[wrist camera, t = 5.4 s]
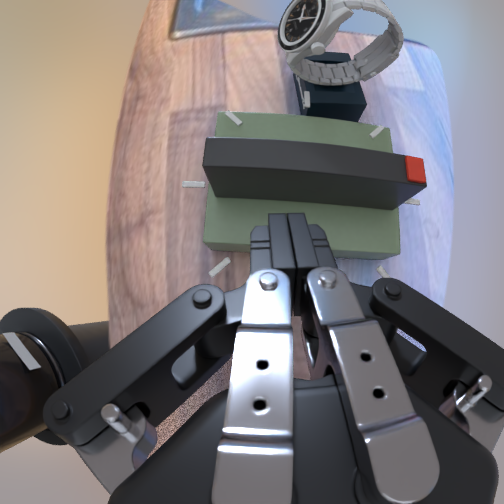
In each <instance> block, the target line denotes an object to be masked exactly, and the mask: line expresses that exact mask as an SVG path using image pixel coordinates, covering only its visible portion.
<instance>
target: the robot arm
mask: <svg viewBox="0 0 504 504" xmlns="http://www.w3.org/2000/svg"><path fill="white" fill-rule="evenodd" d="M292 311H293V314H294V316H301V320H302V326H301V336H302V341H303V345H304V349H305V354H306V358H307V363H308V367H309V372H310V380H304V379H297V378H293V329H292V327H291V317H292ZM398 328H399V329H400V330H402V331H403V332H405V333H406V334H408V335H409V336H410V337H412V338H413V339H415V340H416V341H418V342H419V343H421V344H422V345H423V346H424V347H425V349H426V351H427V352H425V351H422V350H421V349H419V348H418V347H416V346H415V345H414V344H412V343H411V342H409V341H408V340H406V339H405V338H404V337H402V336H401V335H399V334H398V333H396V331H397V329H398ZM232 353H234V355H233V362H232V369H231V376H230V384H229V389H226V390H224V391H222V392H220V393H218V394H216V395H215V396H213V397H211V398H210V399H209V400H208V401H206V402H205V403H204V404H203V405H202V406H201V407H200V408H199V409H198V410H197V411H196V412H195V413H194V414H193V415H192V416H191V417H190V418H189V419H188V420H187V421H186V422H185V423H184V424H183V425H182V426H181V427H180V428H179V429H178V430H177V431H176V432H175V433H174V434H173V435H172V436H171V437H170V438H169V439H168V440H167V441H166V442H165V443H164V444H163V445H162V446H161V447H160V448H159V449H158V450H157V451H156V452H155V453H154V454H152V455H151V456H150V457H149V458H148V459H147V457H148V456H149V454H150V453H151V451H152V450H153V449H154V448H155V446H156V443H157V439H158V435H157V431H156V427H157V426H158V425H159V424H161V423H162V422H163V421H164V420H165V419H166V418H167V417H168V416H169V415H171V414H172V413H173V412H174V411H175V410H176V409H177V408H178V407H179V406H180V405H182V404H183V403H184V402H185V401H186V400H187V399H188V398H189V397H190V396H191V395H192V394H193V393H195V392H196V391H197V390H198V389H199V388H200V387H201V386H202V385H203V384H204V383H205V382H206V381H207V380H208V379H209V378H210V377H211V376H212V375H213V374H215V373H216V372H217V371H218V370H219V369H220V368H221V367H222V366H223V365H224V364H225V363H226V362H227V361H228V360H229V359H230V357H231V356H232ZM503 427H504V349H503V348H501V347H500V346H498V345H497V344H496V343H494V342H493V341H491V340H490V339H489V338H487V337H486V336H484V335H483V334H481V333H480V332H478V331H477V330H475V329H474V328H472V327H471V326H470V325H468V324H467V323H465V322H464V321H462V320H461V319H459V318H457V317H456V316H455V315H453V314H452V313H450V312H449V311H447V310H445V309H444V308H442V307H441V306H439V305H438V304H436V303H435V302H433V301H432V300H430V299H428V298H427V297H425V296H424V295H422V294H421V293H419V292H417V291H416V290H414V289H413V288H411V287H409V286H408V285H406V284H405V283H403V282H401V281H399V280H397V279H394V278H381V279H378V280H377V281H375V283H374V284H373V287H367V286H362V285H357V284H354V283H352V282H349V280H348V277H347V276H346V274H345V273H344V272H342V271H341V270H339V269H338V268H337V265H336V262H335V259H334V256H333V253H332V250H331V247H330V244H329V242H328V240H327V236H326V233H325V231H324V230H323V229H322V228H321V227H320V226H319V225H318V224H308V223H307V219H306V216H305V213H287V214H286V213H268V225H264V226H255V227H254V229H253V230H252V231H251V233H250V276H249V277H248V279H247V282H246V283H245V284H244V285H243V286H241V287H239V288H237V289H235V290H232V291H228V292H224V293H223V291H222V290H221V289H220V288H219V287H217V286H214V285H210V284H201V285H196V286H194V287H192V288H190V289H188V290H187V291H185V292H184V293H183V294H182V295H180V296H179V297H178V298H176V299H175V300H174V301H172V302H171V303H170V304H168V305H167V306H166V307H165V308H163V309H162V310H161V311H159V312H158V313H157V314H155V315H154V316H153V317H151V318H150V319H149V320H148V321H146V322H145V323H144V324H142V325H141V326H140V327H138V328H137V329H136V330H135V331H133V332H132V333H131V334H129V335H128V336H127V337H126V338H124V339H123V340H122V341H120V342H119V343H118V344H116V345H115V346H114V347H113V348H111V349H110V350H109V351H107V352H106V353H105V354H104V355H102V356H101V357H100V358H98V359H97V360H96V361H95V362H93V363H92V364H91V365H89V366H88V367H87V368H86V369H84V370H83V371H82V372H80V373H79V374H78V375H77V376H75V377H74V378H73V379H71V380H70V381H69V382H68V383H66V380H65V377H64V374H63V371H62V368H61V366H60V364H59V362H58V360H57V358H56V357H55V355H54V353H53V352H52V351H51V349H50V348H49V347H48V346H47V344H46V343H45V342H44V341H43V340H41V339H40V338H39V337H38V336H36V335H34V334H32V333H30V332H25V331H21V332H12V333H3V334H0V453H1V452H3V451H5V450H7V449H9V448H11V447H13V446H15V445H17V444H18V443H21V442H22V441H24V440H26V439H28V438H30V437H32V436H34V435H36V434H37V433H39V432H41V431H43V430H45V429H46V428H48V429H49V430H51V431H52V432H53V433H55V434H56V435H57V436H59V437H60V438H62V439H63V440H64V441H65V442H66V443H67V444H69V445H70V446H72V447H73V448H74V449H75V450H76V451H77V453H78V454H79V455H80V457H81V458H82V460H83V461H84V463H85V464H86V465H87V466H88V468H89V469H90V470H91V472H92V473H93V474H94V476H95V477H96V478H97V479H98V480H99V482H100V483H101V484H102V485H103V487H104V488H105V489H106V490H107V491H108V493H109V494H110V495H111V496H110V499H109V501H108V504H493V503H494V498H495V494H496V490H497V486H498V478H499V475H498V467H497V463H496V460H495V458H494V456H493V455H492V451H493V449H494V447H495V445H496V443H497V441H498V439H499V436H500V434H501V432H502V430H503Z"/></svg>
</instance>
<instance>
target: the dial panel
mask: <svg viewBox="0 0 504 504" xmlns="http://www.w3.org/2000/svg"><path fill="white" fill-rule="evenodd" d="M304 103H305V107H307V108H310V93H309V91H304ZM215 137H234V138H261V139H278V140H292V141H304V142H315V143H324V144H333V145H341V146H349V147H357V148H364V149H370V150H377V151H383V152H389V153H393V150H392V143H391V136H390V130H389V128H386V127H383V126H382V125H380V126H376V125H370V124H364V123H358V122H351V121H344V120H337V119H329V118H321V117H312V116H301V115H289V114H275V113H256V112H230V111H229V110H228V111H227V112H218V116H217V123H216V130H215ZM182 187H186V188H205V182H198V181H183V183H182ZM404 203H405V204H413V205H420V200H418V199H411V198H410V199H408V200H407V201H406V202H404ZM268 213H286V214H287V213H305V216H306V219H307V223H308V224H318V225H319V226H320V227H321V228H322V229H323V230H324V231H325V233H326V236H327V240H328V242H329V244H330V247H331V250H332V253H333V256H334V257H339V258H356V259H374V260H383V259H386V258H389V257H392V256H395V255H399V254H400V228H399V209H398V207H397V208H395V209H394V210H383V209H374V208H365V207H354V206H344V205H333V204H321V203H308V202H294V201H279V200H263V199H243V198H220V197H215V195H214V192H213V190H212V188H211V185H210V183H209V186H208V196H207V205H206V215H205V225H204V236H203V242H204V243H205V244H206V245H207V246H208V247H209V248H210V249H211V250H217V251H234V252H250V233H251V231H252V230H253V229H254V227H255V226H264V225H268ZM230 262H231V261H230V259H229V258H228V257H226V258H225V259H224V260H223V261H221V262H220V263H219V264H218V265H217V266H216V267H215V268H214V269H212V270H211V271H210V272H209V274H210V276H211V277H212V278H213V277H215V276H216V275H217V274H218V273H219V272H220V271H221V270H222V269H224V268H225V267H226V266H227V265H228V264H229V263H230ZM376 270H377V271H378V273H379V274H380V275H381V276H382V277H383V278H391V277H390V276H389V275H388V274H387V272H386V271H385V270H384V269H383V268H382V266H381V265H380V266H379V267H378V268H377V269H376ZM301 321H302V320H301Z"/></svg>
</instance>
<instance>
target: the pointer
mask: <svg viewBox="0 0 504 504" xmlns="http://www.w3.org/2000/svg"><path fill="white" fill-rule="evenodd" d="M202 166H203V169H204V171H205V173H206V176H207V178H208V181H209V183H210V185H211V188H212V190H213V192H214V195H215V197H220V198H243V199H263V200H279V201H294V202H308V203H321V204H333V205H344V206H354V207H365V208H374V209H383V210H394V209H395V208H397V207H398V206H400V205H401V204H403V203H404V202H406V201H407V200H408V199H410V198H411V197H413V196H414V195H416V194H417V193H419V192H420V191H421V190H423V189H424V188H426V187H427V184H426V176H425V169H424V162H423V159H421V158H417V157H412V156H405V155H400V154H394V153H389V152H383V151H377V150H370V149H364V148H357V147H349V146H341V145H333V144H324V143H315V142H304V141H292V140H278V139H261V138H234V137H207V138H206V142H205V149H204V157H203V164H202Z"/></svg>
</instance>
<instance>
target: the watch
mask: <svg viewBox="0 0 504 504" xmlns="http://www.w3.org/2000/svg"><path fill="white" fill-rule="evenodd" d="M361 8H362V9H363V10H366V11H371V12H376V13H377V14H379V15H381V16H383V17H386V18H387V19H388V22H389V25H388V30H385V32H384V33H383V35H379V36H378V37H377V38H376V39H375V40H374V41H373V42H372V43H371V44H370V45H369V46H367V47H366V48H365V49H363V50H362V51H361V52H359V53H357V54H356V55H354V60H351V58H350V56H349V54H348V53H336V52H325V51H326V50H325V48H326V47H327V46H328V45H329V44H330V42H331V41H332V40H333V38H334V37H335V34H336V32H337V31H338V29H339V26H340V25H341V24H342V23H343V22H344V21H345V20H347V19H348V18H350V17H351V16H352V15H353V11H352V10H350V9H361ZM278 43H279V45H280V47H281V49H282V50H284V51H285V55H286V60H287V63H288V65H289V67H290V68H291V70H292V71H293V72H294V73H293V77H294V81H295V86H296V91H297V96H298V101H299V106H300V111H301V116H312V117H321V118H329V119H337V120H344V121H351V122H358V120H359V119H360V117H361V115H362V113H363V111H364V109H365V107H366V106H367V103H366V100H365V97H364V94H363V91H362V88H361V85H360V82H359V81H361V80H363V81H366V80H368V79H370V78H372V77H374V76H376V75H377V74H378V73H380V72H381V71H383V70H384V69H385V68H387V67H388V66H389V65H390V64H391V63H392V62H393V61H395V60H396V59H397V58H398V57H399V52H400V49H401V48H402V45H403V33H402V29H401V27H400V26H399V24H398V23H397V21H396V19H395V18H394V16H393V15H392V13H391V12H390V10H389V9H388V7H387V6H386V5H385V3H384V2H383V1H382V0H292V1H291V3H290V4H289V6H288V7H287V8H286V10H285V12H284V14H283V16H282V18H281V21H280V24H279V28H278ZM304 91H309V93H310V108H307V107H305V103H304Z"/></svg>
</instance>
